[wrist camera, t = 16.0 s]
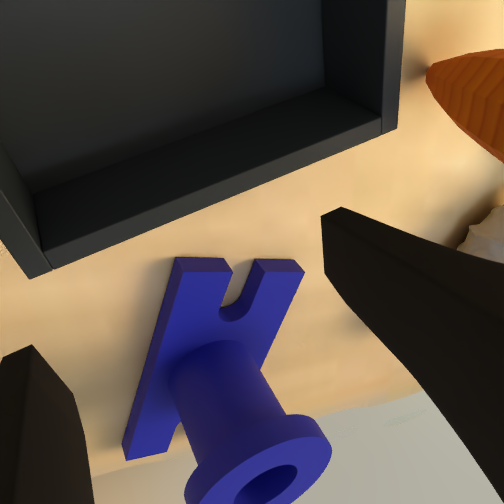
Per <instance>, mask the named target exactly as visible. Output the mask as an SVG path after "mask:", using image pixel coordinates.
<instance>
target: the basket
mask: <svg viewBox="0 0 504 504" xmlns="http://www.w3.org/2000/svg"><path fill="white" fill-rule="evenodd" d="M405 7H406V0H0V240H1V241H2V242H3V244H4V245H5V247H6V248H7V249H8V251H9V252H10V254H11V255H12V256H13V258H14V259H15V261H16V262H17V263H18V265H19V266H20V268H21V269H22V270H23V272H24V273H25V274H26V276H27V277H28V279H33V278H35V277H38V276H40V275H42V274H45V273H47V272H50V271H52V270H53V269H57V268H60V267H62V266H64V265H67V264H69V263H72V262H74V261H77V260H79V259H81V258H84V257H86V256H89V255H91V254H94V253H96V252H98V251H101V250H103V249H106V248H108V247H111V246H113V245H116V244H118V243H120V242H123V241H125V240H128V239H130V238H133V237H135V236H137V235H140V234H142V233H145V232H147V231H150V230H152V229H154V228H157V227H159V226H162V225H164V224H167V223H169V222H171V221H174V220H176V219H179V218H181V217H184V216H186V215H188V214H191V213H193V212H196V211H198V210H201V209H203V208H205V207H208V206H210V205H213V204H215V203H218V202H220V201H223V200H225V199H227V198H230V197H232V196H235V195H237V194H240V193H242V192H244V191H247V190H249V189H252V188H254V187H257V186H259V185H261V184H264V183H266V182H269V181H271V180H274V179H276V178H278V177H281V176H283V175H286V174H288V173H291V172H293V171H295V170H298V169H300V168H303V167H305V166H308V165H310V164H312V163H315V162H317V161H320V160H322V159H325V158H327V157H330V156H332V155H334V154H337V153H339V152H342V151H344V150H347V149H349V148H351V147H354V146H356V145H359V144H361V143H364V142H366V141H368V140H371V139H373V138H376V137H378V136H380V135H383V134H385V133H388V132H390V131H392V130H395V129H397V124H398V109H399V95H400V80H401V65H402V51H403V36H404V22H405Z"/></svg>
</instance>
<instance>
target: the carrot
mask: <svg viewBox="0 0 504 504" xmlns="http://www.w3.org/2000/svg"><path fill="white" fill-rule="evenodd" d="M426 83H427V85H428V87H429V89H430V91H431V93H432V95H433V96H434V98H435V99H436V101H437V102H438V103H439V104H440V106H441V107H442V108H443V109H444V111H445V112H446V113H447V114H448V115H449V117H450V118H451V119H452V120H453V121H454V122H455V123H456V125H457V126H458V127H459V128H460V129H461V130H463V131H464V132H465V133H466V134H467V135H469V136H470V137H471V138H472V139H473V140H474V141H476V142H477V143H478V144H479V145H480V146H482V147H483V148H484V149H486V150H487V151H488V152H490V153H491V154H492V155H493V156H495V157H496V158H497V159H499V160H500V161H501V162H503V163H504V49H495V50H488V51H481V52H475V53H468V54H465V55H461V56H458V57H454V58H451V59H447V60H443V61H440V62H437V63H433V64H432V65H431V66H430V67H429V68H428V70H427V71H426Z"/></svg>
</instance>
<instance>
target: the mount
mask: <svg viewBox="0 0 504 504" xmlns="http://www.w3.org/2000/svg"><path fill="white" fill-rule="evenodd" d="M304 273H305V272H304V271H303V269H302V268H301V267H300V266H299V265H298V264H297V262H296V261H295V260H280V259H255V261H254V263H253V266H252V268H251V271H250V274H249V276H248V279H247V281H246V284H245V286H244V289H243V291H242V294H241V296H240V298H239V299H238V300H237V301H236V302H235V303H233V304H232V305H230V306H228V307H223V308H220V306H221V303H222V301H223V298H224V295H225V293H226V290H227V287H228V284H229V282H230V279H231V276H232V274H233V271H232V270H231V268H230V267H229V265H228V264H227V262H226V261H225V259H224V258H192V257H176V258H175V261H174V265H173V268H172V272H171V275H170V279H169V282H168V286H167V289H166V293H165V296H164V299H163V303H162V306H161V310H160V313H159V317H158V320H157V324H156V327H155V331H154V334H153V337H152V341H151V344H150V348H149V351H148V355H147V358H146V362H145V365H144V369H143V372H142V376H141V379H140V382H139V386H138V389H137V393H136V396H135V400H134V403H133V407H132V410H131V414H130V417H129V421H128V424H127V427H126V431H125V434H124V438H123V441H122V447H123V451H124V455H125V459H126V461H128V460H133V459H137V458H142V457H146V456H151V455H155V454H159V453H164V452H167V450H168V447H169V444H170V442H171V439H172V436H173V434H174V431H175V428H176V426H177V425H178V423H179V422H182V424H183V427H184V430H185V432H186V435H187V438H188V440H189V443H190V445H191V448H192V451H193V453H194V456H195V458H196V461H197V464H198V467H197V468H196V469H195V470H194V471H193V473H192V475H191V476H190V478H189V480H188V482H187V484H186V487H185V491H184V497H185V501H186V504H290V503H292V502H293V501H294V500H296V499H297V498H298V497H299V496H301V495H302V494H303V493H304V492H305V491H306V490H307V489H309V487H311V486H312V485H313V484H314V483H315V481H316V480H317V479H318V478H319V477H320V476H321V474H322V473H323V472H324V470H325V468H326V467H327V465H328V463H329V461H330V458H331V454H332V448H331V445H330V443H329V442H328V440H327V438H326V437H325V435H324V434H323V432H322V431H321V429H320V427H319V426H318V424H317V423H316V422H315V420H314V419H312V418H311V417H309V416H305V415H299V414H293V415H286V414H285V412H284V410H283V408H282V407H281V405H280V403H279V402H278V400H277V398H276V397H275V395H274V393H273V391H272V390H271V388H270V386H269V385H268V383H267V381H266V380H265V378H264V376H263V374H262V373H261V371H260V369H261V367H262V364H263V362H264V360H265V358H266V356H267V354H268V351H269V349H270V347H271V345H272V343H273V341H274V338H275V336H276V334H277V332H278V330H279V328H280V325H281V323H282V321H283V319H284V317H285V315H286V312H287V310H288V308H289V306H290V304H291V302H292V299H293V297H294V295H295V293H296V291H297V289H298V286H299V284H300V282H301V280H302V278H303V276H304Z"/></svg>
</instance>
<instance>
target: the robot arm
mask: <svg viewBox="0 0 504 504" xmlns="http://www.w3.org/2000/svg"><path fill="white" fill-rule="evenodd" d="M321 228H322V243H323V258H324V273H325V275H326V276H327V278H328V279H329V280H330V282H331V283H332V285H333V286H334V288H335V289H336V290H337V292H338V293H339V295H340V296H341V297H342V299H343V300H344V301H345V303H346V304H347V305H348V306H349V307H350V308H351V309H352V311H353V312H354V313H355V314H356V315H357V316H358V317H359V318H360V319H361V320H362V321H363V322H364V323H365V325H366V326H367V327H368V328H369V329H370V330H371V331H372V332H373V333H374V334H375V335H376V336H377V337H378V338H379V339H380V340H381V342H382V343H383V344H384V345H385V346H386V347H387V348H388V349H389V350H390V351H391V352H392V353H393V354H394V355H395V356H396V357H397V359H398V360H399V361H400V362H401V363H402V364H403V365H404V366H405V367H406V368H407V370H408V371H409V372H410V373H411V374H412V375H413V377H414V378H415V379H416V380H417V381H418V383H419V384H420V385H421V387H422V388H423V389H424V391H425V392H426V393H427V394H428V396H429V397H430V398H431V400H432V401H433V402H434V404H435V405H436V406H437V407H438V409H439V410H440V412H441V413H442V414H443V416H444V417H445V418H446V420H447V421H448V423H449V424H450V425H451V427H452V428H453V429H454V431H455V432H456V434H457V435H458V436H459V438H460V439H461V440H462V442H463V443H464V445H465V446H466V447H467V449H468V450H469V452H470V453H471V455H472V456H473V458H474V459H475V460H476V462H477V464H478V465H479V466H480V468H481V469H482V471H483V472H484V474H485V475H486V477H487V478H488V480H489V481H490V483H491V484H492V486H493V487H494V489H495V490H496V492H497V493H498V495H499V497H500V498H501V500H502V501H503V503H504V263H500V262H496V261H492V260H488V259H484V258H481V257H477V256H474V255H470V254H467V253H464V252H461V251H458V250H455V249H452V248H449V247H445V246H442V245H440V244H437V243H434V242H431V241H428V240H425V239H423V238H420V237H417V236H415V235H412V234H409V233H407V232H404V231H402V230H399V229H396V228H394V227H391V226H389V225H386V224H384V223H381V222H379V221H376V220H374V219H371V218H369V217H366V216H364V215H362V214H359V213H356V212H354V211H351V210H349V209H346V208H343V207H340V208H338V209H335V210H333V211H331V212H329V213H326V214H324V215H322V216H321ZM0 504H94V498H93V490H92V483H91V475H90V468H89V461H88V454H87V447H86V441H85V435H84V431H83V427H82V423H81V420H80V416H79V412H78V409H77V405H76V402H75V399H74V395H73V393H72V392H71V391H70V389H69V388H68V387H67V386H66V385H65V383H64V382H63V381H62V380H61V379H60V377H59V376H58V375H57V374H56V373H55V371H54V370H53V369H52V368H51V367H50V365H49V364H48V363H47V362H46V361H45V359H44V358H43V357H42V356H41V355H40V353H39V352H38V351H37V350H36V349H35V347H34V346H33V345H32V344H31V345H29V346H27V347H25V348H22V349H20V350H18V351H16V352H13V353H11V354H9V355H7V356H4V357H3V358H2V361H1V363H0Z"/></svg>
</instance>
